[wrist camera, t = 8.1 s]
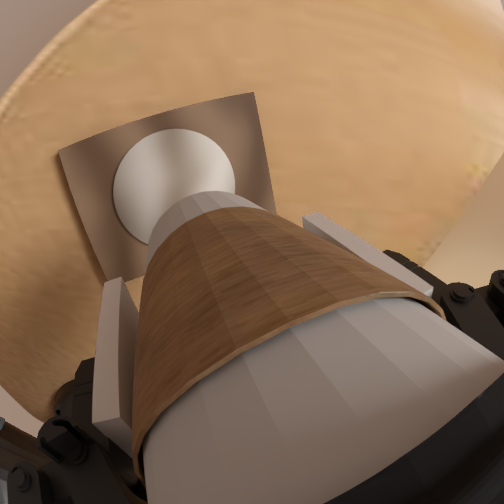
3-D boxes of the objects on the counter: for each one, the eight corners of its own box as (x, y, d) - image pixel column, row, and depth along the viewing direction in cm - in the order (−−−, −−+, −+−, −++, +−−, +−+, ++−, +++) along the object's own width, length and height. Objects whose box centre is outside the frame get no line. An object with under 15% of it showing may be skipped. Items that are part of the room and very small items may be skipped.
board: (111, 279, 29) (110, 288, 28) (62, 148, 23) (56, 150, 21) (273, 224, 33) (280, 230, 31) (248, 93, 26) (255, 91, 25)
